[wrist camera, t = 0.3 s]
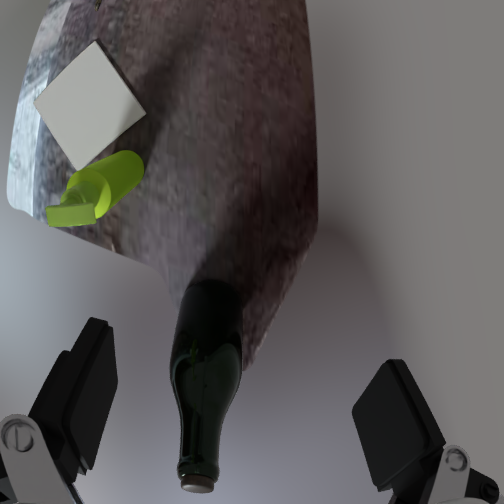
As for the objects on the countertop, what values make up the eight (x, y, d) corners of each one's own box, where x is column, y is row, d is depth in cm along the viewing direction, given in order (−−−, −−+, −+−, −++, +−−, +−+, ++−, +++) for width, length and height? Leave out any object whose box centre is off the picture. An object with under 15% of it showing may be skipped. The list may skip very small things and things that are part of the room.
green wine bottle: (180, 321, 54) (149, 495, 25) (184, 273, 50) (139, 465, 20) (237, 329, 55) (240, 505, 26) (247, 282, 51) (259, 478, 21)
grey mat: (34, 102, 35) (32, 102, 34) (96, 41, 32) (94, 40, 31) (79, 171, 41) (78, 172, 40) (146, 113, 38) (145, 113, 37)
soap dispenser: (152, 187, 43) (98, 246, 25) (110, 189, 43) (40, 246, 25) (150, 147, 40) (87, 182, 22) (106, 152, 40) (28, 189, 22)
